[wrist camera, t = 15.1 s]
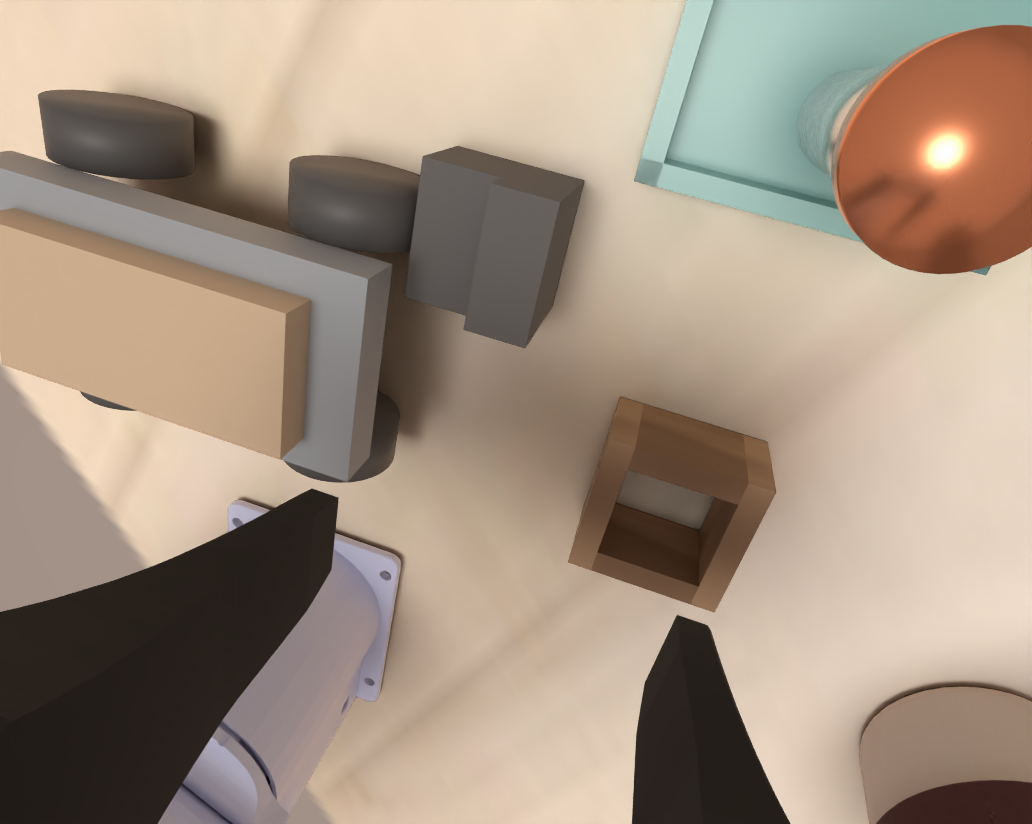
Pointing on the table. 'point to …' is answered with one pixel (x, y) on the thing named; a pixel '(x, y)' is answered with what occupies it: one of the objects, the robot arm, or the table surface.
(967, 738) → the coffee cup
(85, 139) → the trolley
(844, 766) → the table surface
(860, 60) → the tray
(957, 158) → the pin
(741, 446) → the pin socket
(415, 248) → the block
